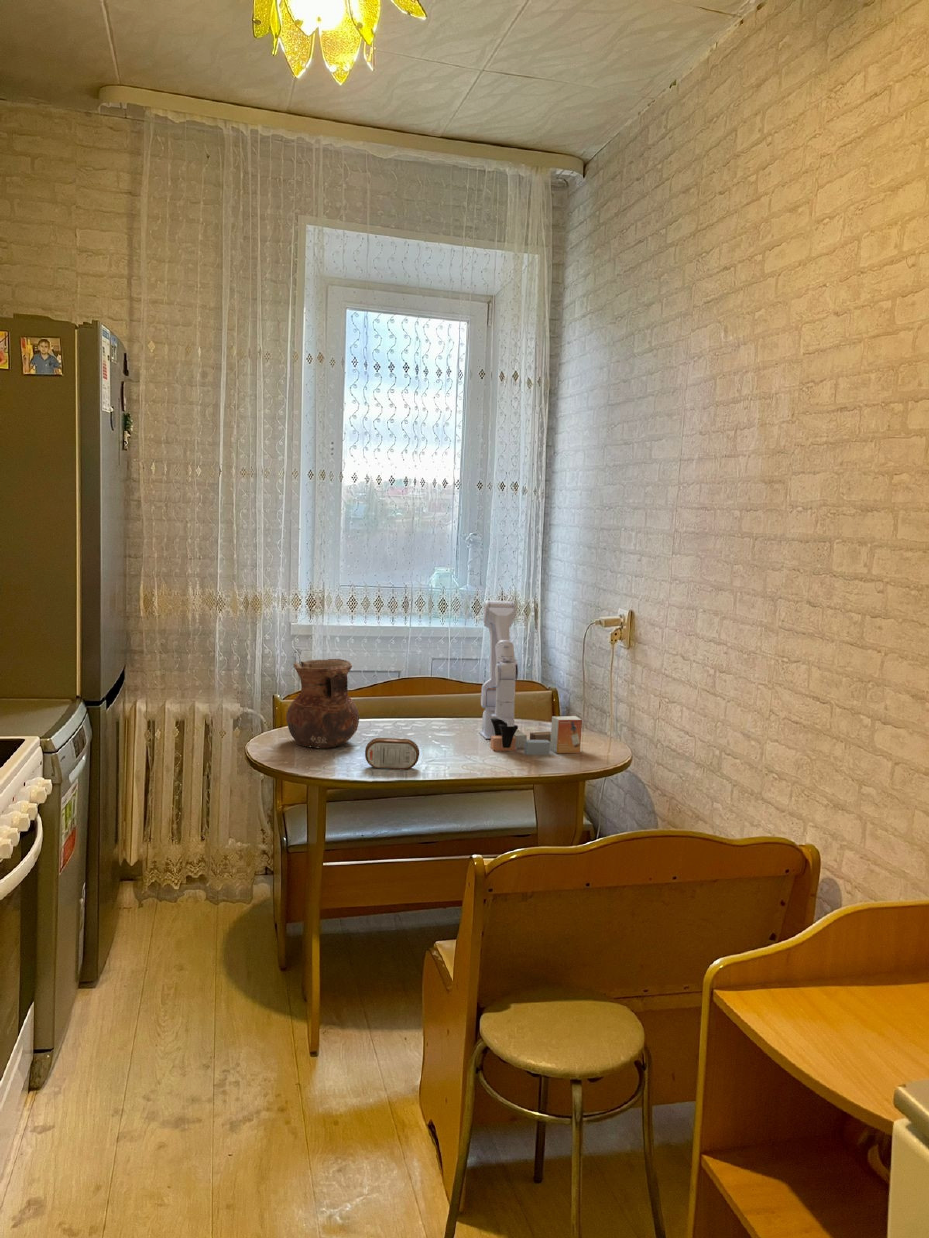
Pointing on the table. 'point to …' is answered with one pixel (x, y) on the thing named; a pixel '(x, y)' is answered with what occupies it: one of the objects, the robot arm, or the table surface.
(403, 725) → the table surface
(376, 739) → the tin
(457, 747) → the table surface
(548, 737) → the walnut brick
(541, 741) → the slate brick
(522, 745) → the grey brick
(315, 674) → the jug
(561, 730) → the small box
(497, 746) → the terracotta brick
